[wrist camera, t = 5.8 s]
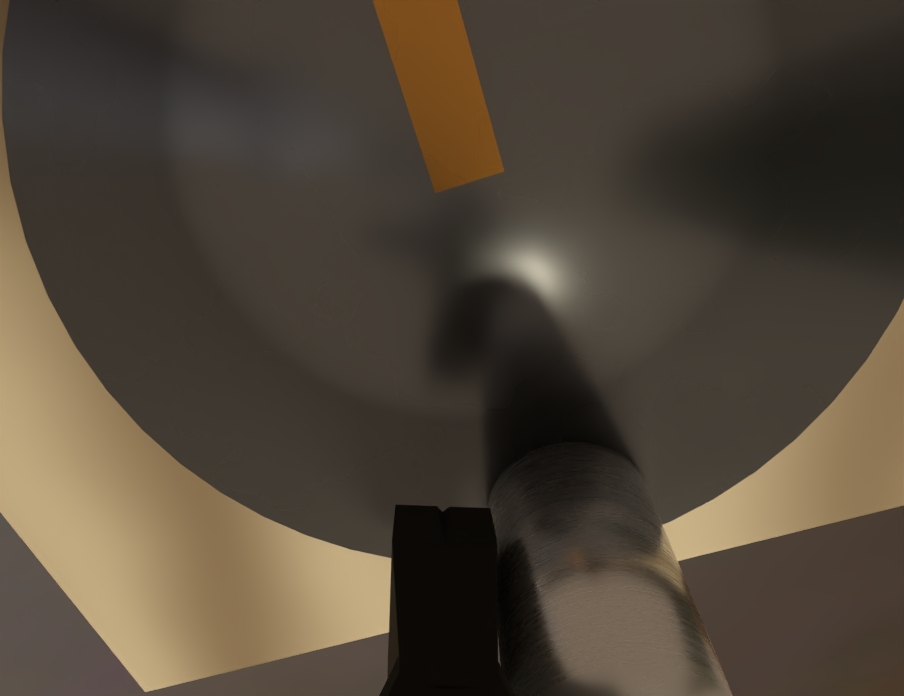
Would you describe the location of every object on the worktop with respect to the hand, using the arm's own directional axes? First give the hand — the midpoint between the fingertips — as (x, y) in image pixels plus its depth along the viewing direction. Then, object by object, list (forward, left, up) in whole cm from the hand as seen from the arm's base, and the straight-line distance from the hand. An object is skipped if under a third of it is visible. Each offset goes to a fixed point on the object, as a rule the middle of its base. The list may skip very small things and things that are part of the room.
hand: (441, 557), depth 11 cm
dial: (+2, +4, -2) cm, 5 cm away
